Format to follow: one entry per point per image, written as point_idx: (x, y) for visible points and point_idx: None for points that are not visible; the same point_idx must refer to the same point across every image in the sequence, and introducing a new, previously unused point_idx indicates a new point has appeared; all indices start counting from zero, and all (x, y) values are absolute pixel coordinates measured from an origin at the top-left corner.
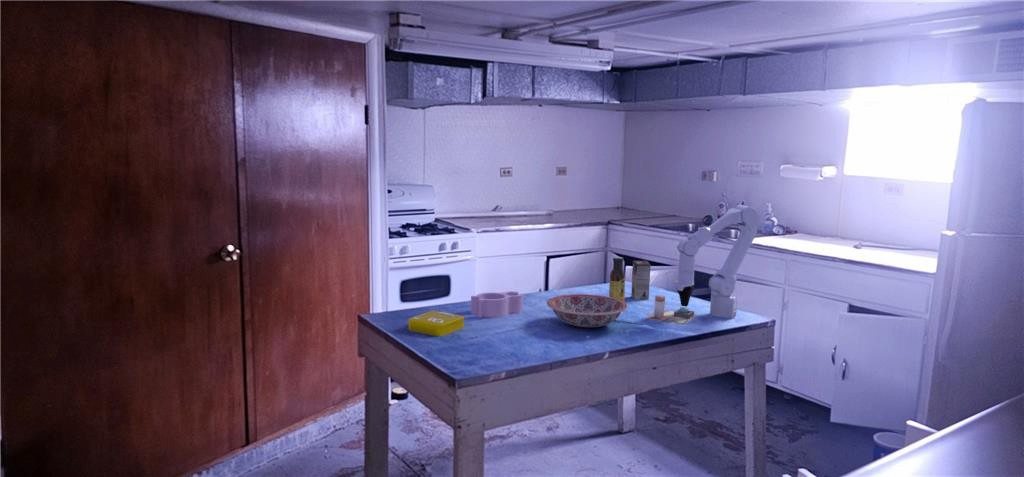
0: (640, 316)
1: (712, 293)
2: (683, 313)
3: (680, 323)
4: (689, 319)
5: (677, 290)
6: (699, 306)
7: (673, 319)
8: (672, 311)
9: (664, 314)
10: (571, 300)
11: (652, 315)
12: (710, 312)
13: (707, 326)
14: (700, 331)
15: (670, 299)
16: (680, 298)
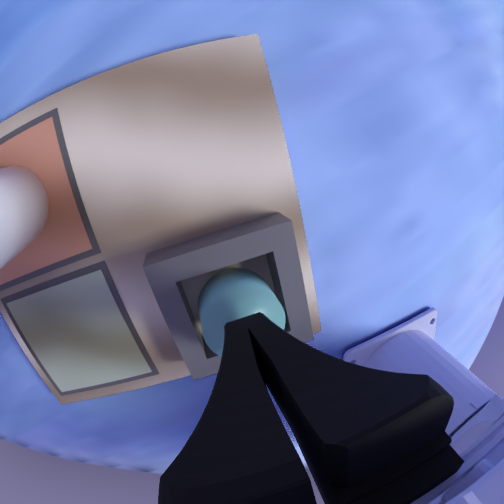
0: (17, 51)
1: (451, 446)
2: (178, 341)
3: (51, 383)
4: (173, 370)
5: (166, 477)
6: (500, 182)
7: (66, 314)
8: (280, 148)
9: (128, 165)
10: None
11: (19, 134)
12: (383, 363)
13: (188, 438)
14: (92, 452)
15: (498, 25)
16: (218, 379)
